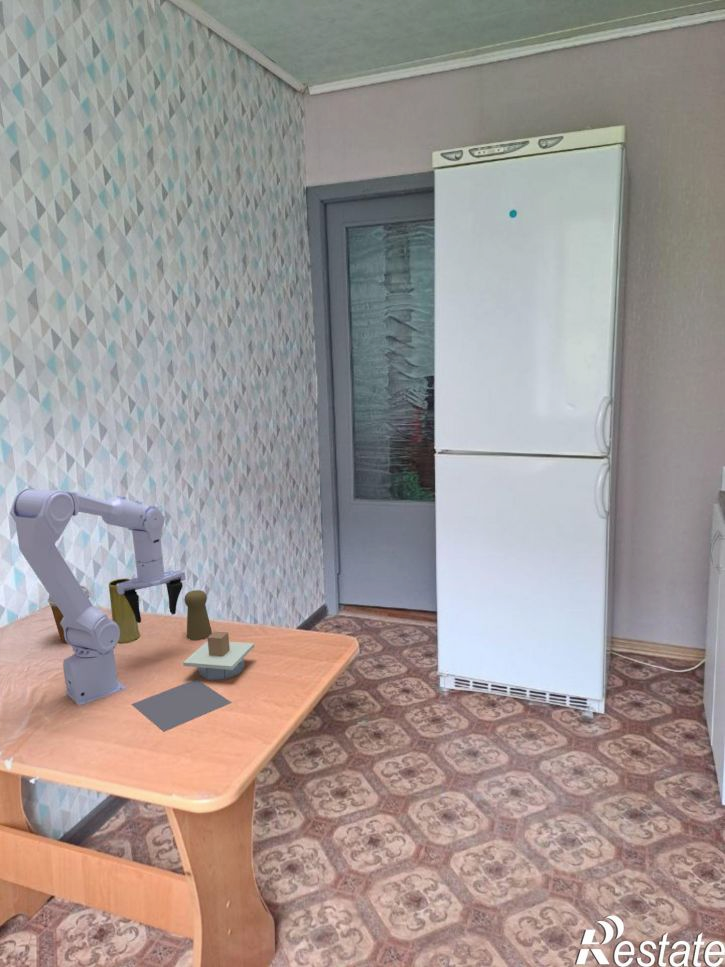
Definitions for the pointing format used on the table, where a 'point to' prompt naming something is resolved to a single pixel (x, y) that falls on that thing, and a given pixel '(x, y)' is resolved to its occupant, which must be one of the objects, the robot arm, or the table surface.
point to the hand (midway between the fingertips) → (155, 617)
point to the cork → (197, 615)
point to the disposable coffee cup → (59, 616)
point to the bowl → (221, 672)
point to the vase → (123, 613)
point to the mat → (180, 704)
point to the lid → (219, 653)
